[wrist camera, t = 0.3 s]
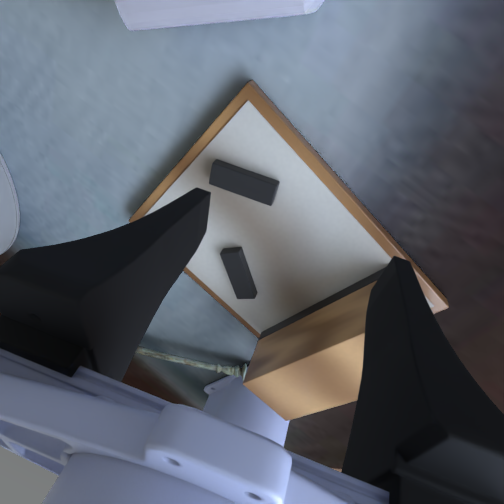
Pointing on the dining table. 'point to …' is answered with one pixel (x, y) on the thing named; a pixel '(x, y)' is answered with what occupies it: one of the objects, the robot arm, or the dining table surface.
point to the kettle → (8, 209)
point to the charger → (206, 11)
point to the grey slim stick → (195, 362)
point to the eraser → (313, 355)
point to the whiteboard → (278, 218)
